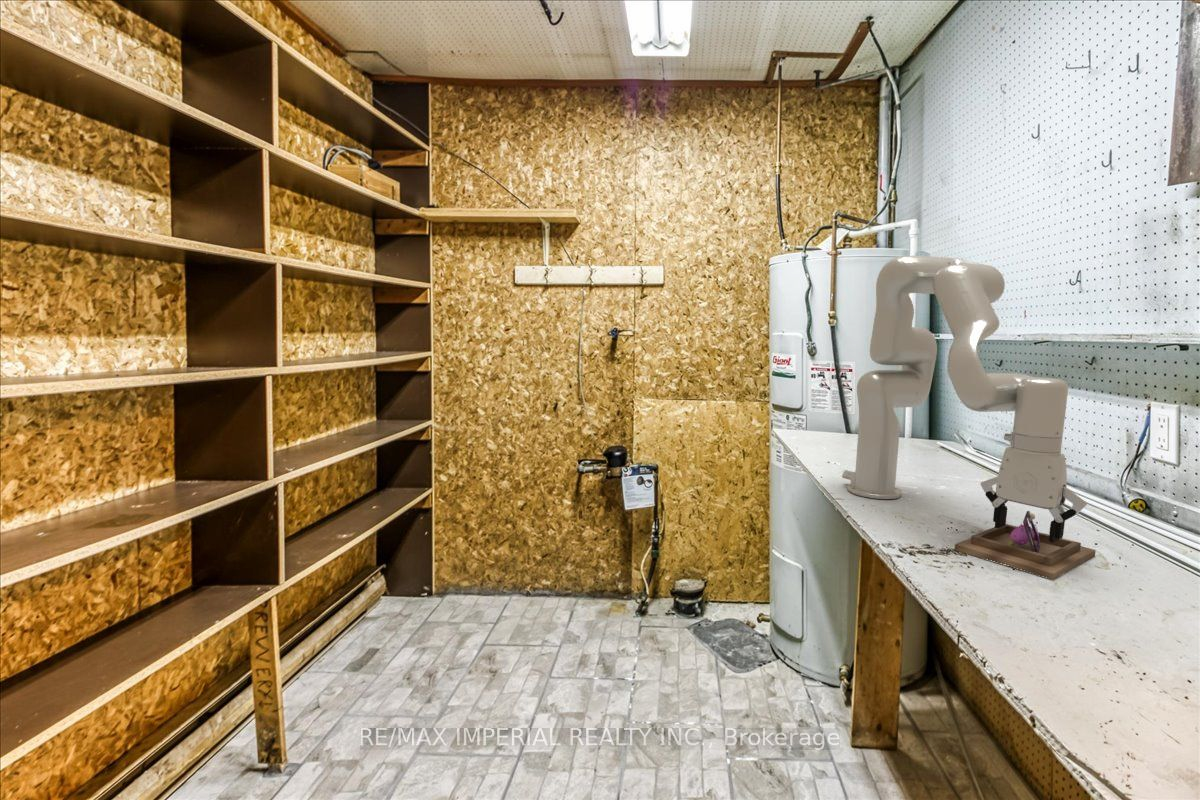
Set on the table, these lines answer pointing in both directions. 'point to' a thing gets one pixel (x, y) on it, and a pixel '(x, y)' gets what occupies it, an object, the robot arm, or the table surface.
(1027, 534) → the purple figure with panel
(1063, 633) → the table surface
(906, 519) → the table surface
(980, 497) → the table surface
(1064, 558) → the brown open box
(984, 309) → the robot arm
